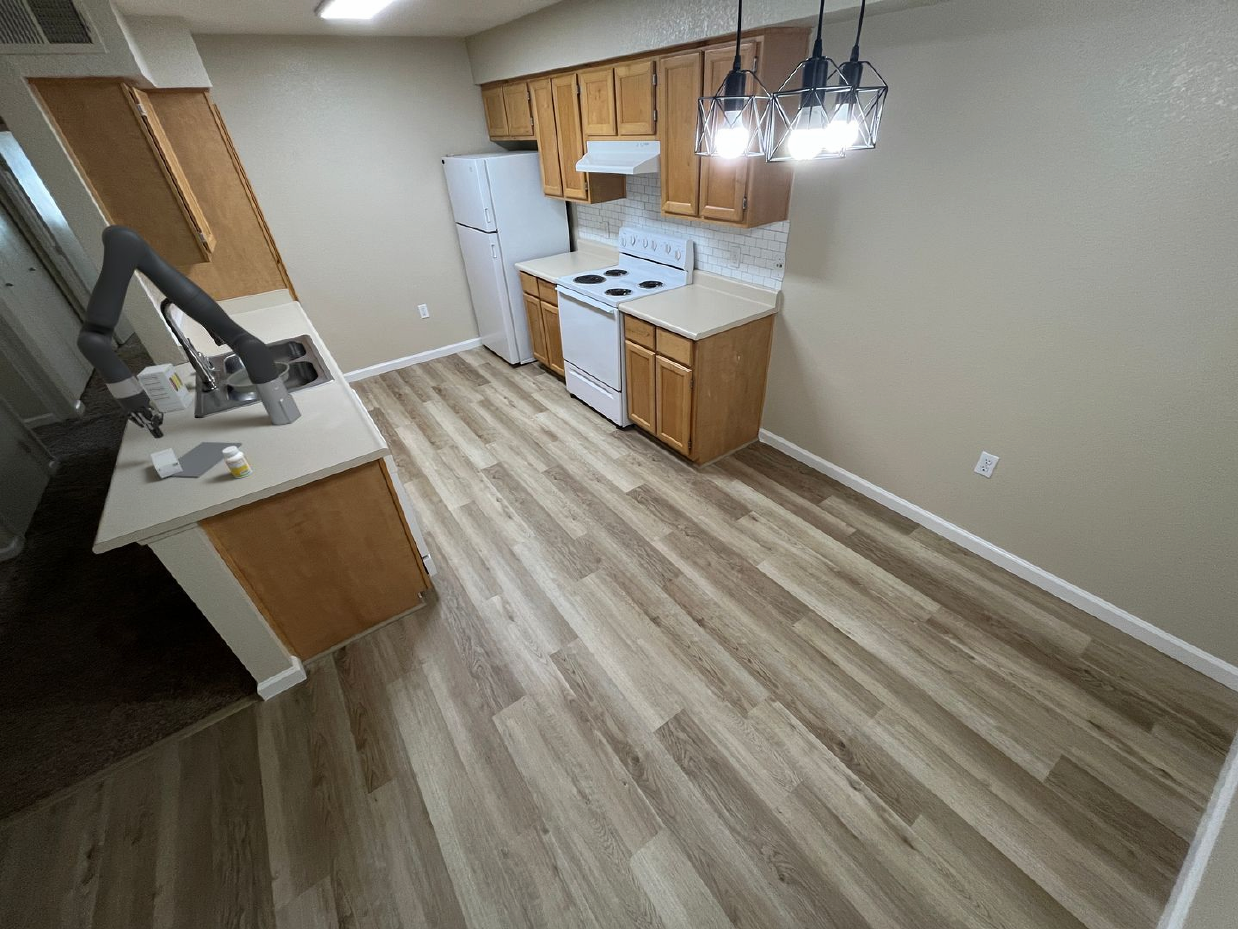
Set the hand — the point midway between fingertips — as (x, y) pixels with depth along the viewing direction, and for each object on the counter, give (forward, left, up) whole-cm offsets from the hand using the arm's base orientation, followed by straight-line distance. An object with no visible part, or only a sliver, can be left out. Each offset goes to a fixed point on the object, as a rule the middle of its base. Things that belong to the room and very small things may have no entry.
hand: (159, 437), depth 173 cm
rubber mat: (-11, 0, -9) cm, 14 cm away
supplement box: (+34, -37, -9) cm, 51 cm away
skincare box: (0, +2, -6) cm, 6 cm away
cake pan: (+12, -60, -9) cm, 62 cm away
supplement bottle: (-33, +7, -9) cm, 35 cm away
